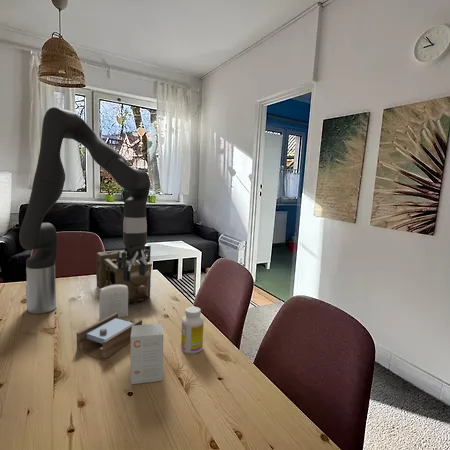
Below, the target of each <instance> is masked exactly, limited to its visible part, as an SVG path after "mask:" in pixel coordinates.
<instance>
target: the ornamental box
mask: <svg viewBox="0 0 450 450" xmlns="http://www.w3.org/2000/svg"><path fill="white" fill-rule="evenodd" d="M119 251H120V252H122V251H125V249H119V250H109V251H100V252H96V262H95V263H96V264H95V278H96V288H99V289H102V288H104V287H107V286H110V285H126V286H127V287H128V304H129V303H133V302H139V301H143V300H147V299H149V300H150V299H151V284H152V283H151V281H152V280H151V277H152V275H151V274H152V266H153V264H152V263H147V264H146V273H145V275H144V276H142V275H139V265H140V264H139V262H138V260H136V261H135V262H134V264H133V265H132V266H131V269H130V271H131V281H130V282H126V281H124V279H123V270H119V269H118V252H119ZM128 261H130V260H129V259H128ZM122 266H123V264H122ZM127 267H128V264H127Z"/></svg>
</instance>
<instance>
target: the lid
mask: <svg viewBox="0 0 450 450" xmlns="http://www.w3.org/2000/svg"><path fill="white" fill-rule="evenodd" d="M133 323H134V322H131V321H128V320H127V321H126V320H123V319H121V318H118V319H117V318H114V319H113V320H111V321H109V322H107V323H105V324H103V325H101V326H99V327H98V328H96V329H94V330H92V331H90V332H88V333H86V338H87V339H90V340H93V341H96V342H98V343H101V344H103V341H104V340H106V339H108V338H109V337H111V336H113V335H114V334H116V333H118V332H119V331H121V330H123V329H124V328H126V327H128V326H129V325H131V324H133Z"/></svg>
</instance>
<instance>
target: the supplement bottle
mask: <svg viewBox="0 0 450 450" xmlns="http://www.w3.org/2000/svg"><path fill="white" fill-rule="evenodd" d="M201 312H202V311H201V308H200V307H198V306H189V307H186V308H185V312H184V313H185V315H184V316H183V317H182V319H181V340H180V346H181V350H182V351H183V352H184V353H186V354H192V355H193V354H198V353H200V352H201V351H202V350H203V347H204V346H203V345H204V318H203V316H202V315H201V314H202V313H201Z"/></svg>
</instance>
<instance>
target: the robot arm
mask: <svg viewBox="0 0 450 450" xmlns="http://www.w3.org/2000/svg"><path fill="white" fill-rule="evenodd" d="M64 139H70V140H73V141H75V142H77V143H79V144H81V145H82V146H83V147H85V149H86V151H88V153H89V155H90V157H91V158H92V159H93V160H94V162H95V163H96V164H97V165H99V166H100V167H101V168H102V169H103V170H104V171H106V172H107V173H109V174H110V175H111V177H112V179H114V181H115V182H116V183H117V184H118V185H119V186H120V187H121V188H123V190H125V191H128V192H130V193H129V197H128V198H126V199H125V201H124V203H123V224H122V226H123V227H122V229H123V231H122V237H123V238H122V240H123V241H122V242H123V245H124V246H125V248H124V250H125V251H122V252H120V251H119V252H118V269H119V270H123V279H124V281H126V282H130V281H131V271H130V269H131V266H132V265H133V264H134V262H135V261H136V260H138V262H139V264H140V265H139V275H142V276H144V275H145V273H146V264H148V263H150V262H151V248H152V247H151V245H149V244H147V238H148V237H147V236H148V234H147V233H148V231H147V230H148V229H147V228H148V224H147V223H148V221H147V202H148V198H149V195H150V189H151V179H150V176H149V174H148V173H147V172H146V170H143V169H135V168H133V167H131V166H130V165H128V161H127V159H126V158H125V157H124V156H123V155H122V154H120V153H119V152H118V151H116V150H115V149H114V148H113V147H112V146H110V145H109V144H108V143H107V142H105V141H104V140H103V139H102V138H101V137H100V136H99V135H98V134H97V133H96V132H95V131H94V130H93V129H92V128H91V127H90V126H89V125H88V124H87V122H86V121H85V120H84V119H83V118H82V117H81V116H80V115H79V114H78V113H76V112H74V111H71V110H68V109H65V108H64V109H63V108H60V107H54V106H53V107H50V108H49V109H47V110H46V112H45V113H44V117H43V120H42V127H41V137H40V148H39V153H38V159H37V164H36V168H35V173H34V176H33V182H32V187H31V193H30V196H29V201H28V204H27V209H26V212H25V215H24V218H23V220H22V223H21V226H20V228H19V233H18V234H19V236H18V239H19V244H20V246H21V247H22V248H23V249H24V250H27V251H28V250H29V251H30V250H31V251H32V250H36V251H35V253H33V254H32V255H31V256H29V257H27V259H26V261H25V266H26V267H25V268H26V269H25V271H26V285H25V295H26V297H25V299H26V310H27V311H28V313H30V314H33V315H34V314H36V315H38V314H46V313H49V312H52V311H54V310H55V309H57V292H56V291H57V290H56V289H57V287H56V259H57V255H58V254H57V253H58V233H57V229H56V228H55V225H53V224H52V223H50V222H43V221H44V218H45V216H46V214H47V213H48V212H49V210H50V209H52V208H53V206H54V205H55V204H56V203H57V201H58V200H59V199H60V198H61V196H62V193H63V191H64V186H65V181H66V172H65V168H64V165H63V162H62V158H61V149H62V144H63V140H64ZM128 259H129V260H130V261H128ZM122 264H123V266H122ZM127 264H128V267H127Z"/></svg>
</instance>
